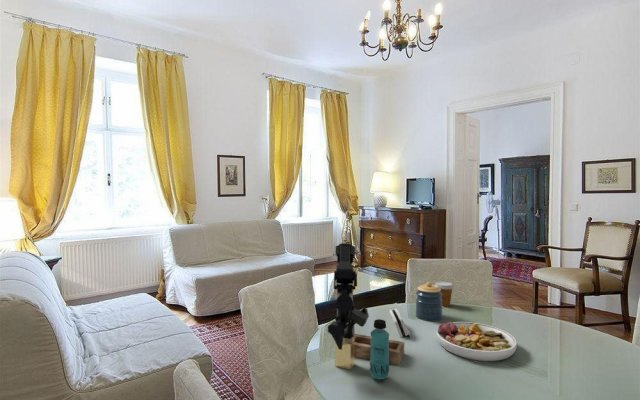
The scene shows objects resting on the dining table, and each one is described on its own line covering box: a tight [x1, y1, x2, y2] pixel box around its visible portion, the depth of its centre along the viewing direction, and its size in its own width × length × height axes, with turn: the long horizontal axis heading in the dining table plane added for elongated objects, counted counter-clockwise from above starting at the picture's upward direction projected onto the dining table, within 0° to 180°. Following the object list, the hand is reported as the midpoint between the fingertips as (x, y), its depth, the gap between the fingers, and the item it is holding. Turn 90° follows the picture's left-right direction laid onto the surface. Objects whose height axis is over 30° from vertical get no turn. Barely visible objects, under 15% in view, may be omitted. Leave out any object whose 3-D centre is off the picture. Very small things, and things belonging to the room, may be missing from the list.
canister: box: [415, 281, 443, 322], centre depth 184 cm, size 13×13×18 cm
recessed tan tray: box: [351, 333, 405, 365], centre depth 143 cm, size 20×10×4 cm, turn 66°
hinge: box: [388, 308, 412, 338], centre depth 168 cm, size 17×5×10 cm, turn 0°
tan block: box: [334, 338, 356, 370], centre depth 135 cm, size 6×4×9 cm
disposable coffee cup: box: [434, 281, 454, 308], centre depth 202 cm, size 10×10×12 cm
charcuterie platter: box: [435, 321, 518, 362], centre depth 150 cm, size 30×30×8 cm
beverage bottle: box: [369, 318, 390, 380], centre depth 125 cm, size 6×7×20 cm
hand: (344, 344), depth 135 cm, fingers open, 9 cm apart
